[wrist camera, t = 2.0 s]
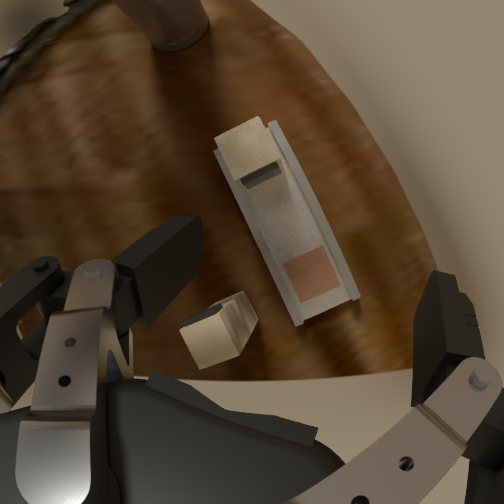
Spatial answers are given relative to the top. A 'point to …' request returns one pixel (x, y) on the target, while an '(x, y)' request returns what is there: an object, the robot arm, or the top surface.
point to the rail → (285, 219)
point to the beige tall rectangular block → (220, 330)
